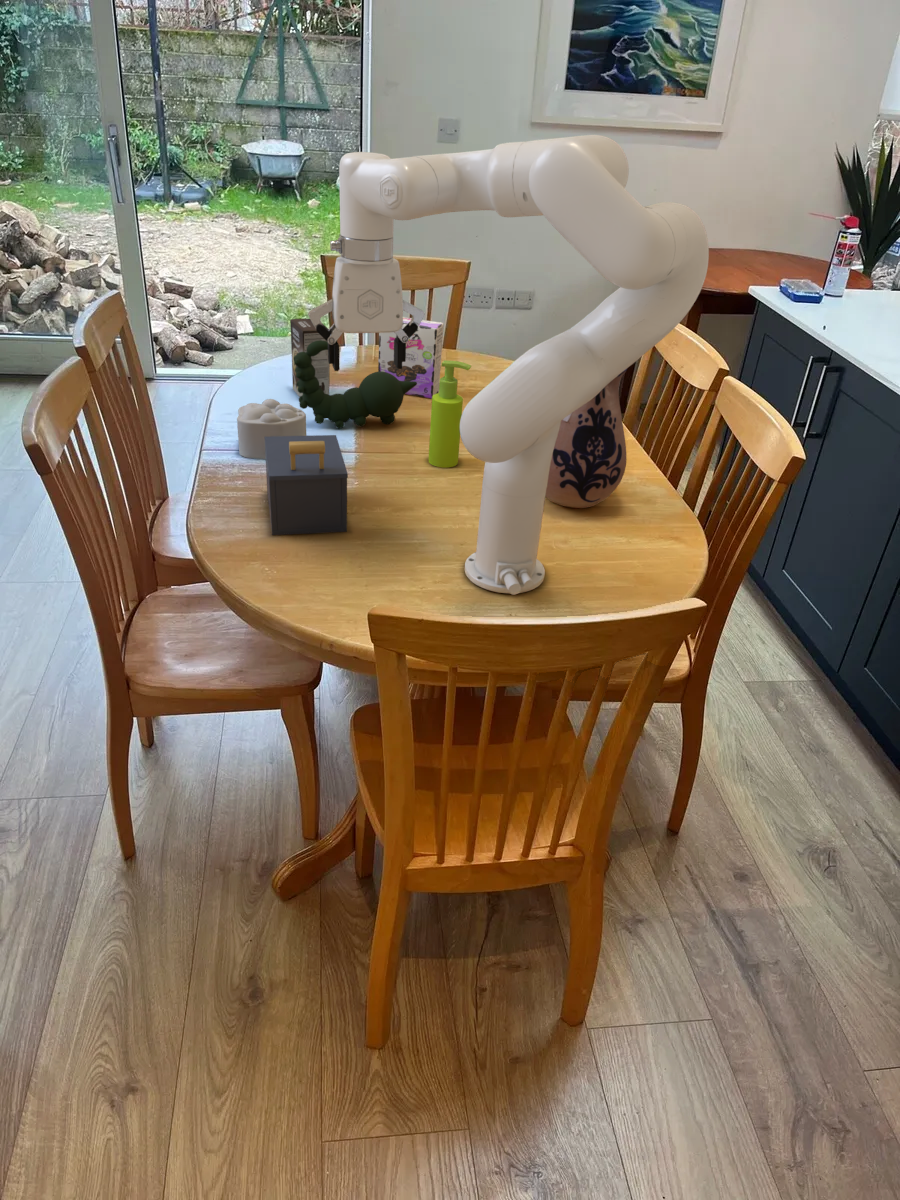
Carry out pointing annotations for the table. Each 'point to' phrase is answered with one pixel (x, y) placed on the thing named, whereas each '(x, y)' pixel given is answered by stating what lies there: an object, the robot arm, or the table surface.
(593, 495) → the ceramic pitcher
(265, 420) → the lumpy-topped squat cylinder
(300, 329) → the coffee box
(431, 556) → the table surface
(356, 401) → the toy figurine
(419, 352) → the candy box
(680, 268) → the robot arm
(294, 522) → the chest
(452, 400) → the soap dispenser
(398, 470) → the table surface
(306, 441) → the lid
